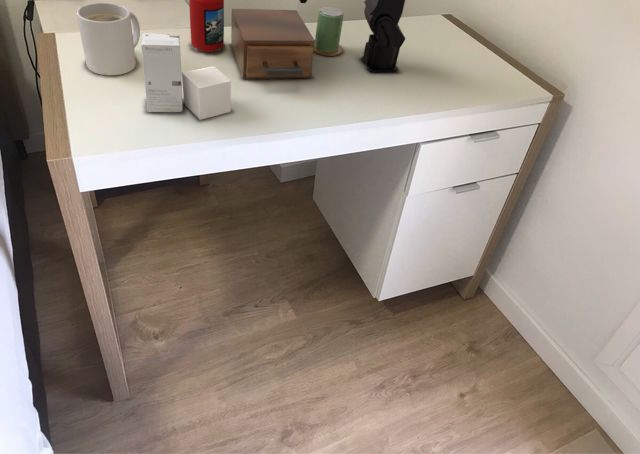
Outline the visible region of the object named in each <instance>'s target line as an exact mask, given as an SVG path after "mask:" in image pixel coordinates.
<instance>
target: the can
mask: <svg viewBox="0 0 640 454" xmlns="http://www.w3.org/2000/svg"><path fill="white" fill-rule="evenodd" d="M344 15H345V14H344V12H343V11H342V10H341V9H340V8H338V7H334V6H333V7H332V6H323V7H321V8H319V9H318V14H317V22H316V29H315V38H314V40H315V45H314V47H315V48H316V49H317V50H319V51H321V52H325V53H334V52H336V51H338V48H339V46H340V42H341V36H342V35H341V33H342V28H343V23H344V21H343V20H344Z"/></svg>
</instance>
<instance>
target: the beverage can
mask: <svg viewBox="0 0 640 454" xmlns="http://www.w3.org/2000/svg"><path fill="white" fill-rule="evenodd" d="M188 4H189V5H188V6H189V7H188V8H189V26H190V29H189V30H190V43H191V46H193V47H194V48H195V49H197V50H198V51H201V52H204V53H215V52H218V51H219V50H220V49H222V48H223V47H224V44H225V0H189V1H188Z"/></svg>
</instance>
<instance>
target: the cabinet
mask: <svg viewBox="0 0 640 454" xmlns="http://www.w3.org/2000/svg"><path fill="white" fill-rule="evenodd" d="M230 25H231V31H230V32H231V35H230V36H231V37H230V39H231V40H230V41H231V42H230V46H231V49H232V51H233V55H234V57H235V60H236V63H237V66H238V69H239V71H240V74H241V77H242V79H243V80H245V79H246V80H250V79H251V80H255V79H257V80H258V79H260V80H261V79H263V80H264V79H309V78H311V77H312V76H311V75H312V69H313V60H314V53H315V52H314V45H315V38H314V37H313V35H312V33H311V32H310V30H309V28H308V27H307V24H305V22H304V20H303V18H302V16H301V15H300V13H299V12H298V10H297V9H266V8H265V9H262V8H261V9H260V8H256V9H255V8H231V24H230ZM249 45H305V46H312V47H313V53H312V61H311V69H310V76H302V77H247V75H246V64H247V46H249Z"/></svg>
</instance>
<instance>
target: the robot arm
mask: <svg viewBox="0 0 640 454" xmlns="http://www.w3.org/2000/svg"><path fill="white" fill-rule="evenodd" d="M307 2H308V0H299V3H300V4H306V3H307ZM363 3H364V5H365V7H364V9H363V10H364V18H365V20H366V22H367V25H368V27H369V29H370V31H371V33H372V34H369V36H368V41H366V43H365V46H364V51H363V55H362V56H361V60H362V62H363V64H364V65H365V66H366V67H367V69H368V70H369V72H371V73H397V72H399V68H398V66H397V62H398V57H399V53H400V50H401V47H402V45H403V44H404V42H405V41H406V36H405V35H404V33H403V31H402V29H401V28H400V25H399V23H400V20H401V18H402V15H403V11H404V7H405V3H406V0H364V2H363Z"/></svg>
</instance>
